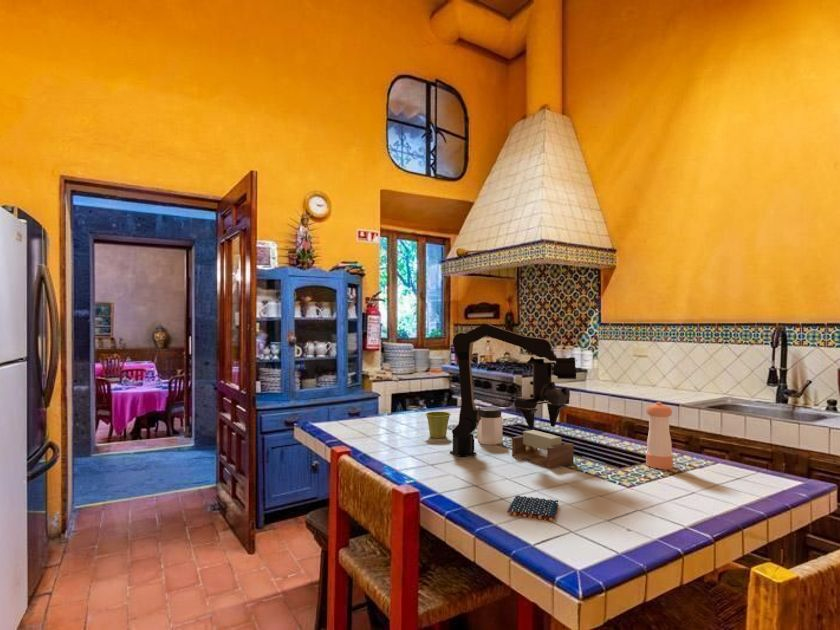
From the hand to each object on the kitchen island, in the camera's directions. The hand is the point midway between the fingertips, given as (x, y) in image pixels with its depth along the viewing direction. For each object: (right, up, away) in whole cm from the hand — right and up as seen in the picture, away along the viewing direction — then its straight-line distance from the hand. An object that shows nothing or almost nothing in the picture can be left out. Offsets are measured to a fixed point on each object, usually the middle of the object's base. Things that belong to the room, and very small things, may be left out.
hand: (542, 428), depth 158 cm
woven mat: (-13, -10, -43) cm, 45 cm away
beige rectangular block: (0, -6, 0) cm, 6 cm away
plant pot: (-32, -11, +32) cm, 46 cm away
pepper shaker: (+33, -10, -7) cm, 36 cm away
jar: (-13, -10, +23) cm, 29 cm away
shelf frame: (0, -10, 0) cm, 10 cm away
